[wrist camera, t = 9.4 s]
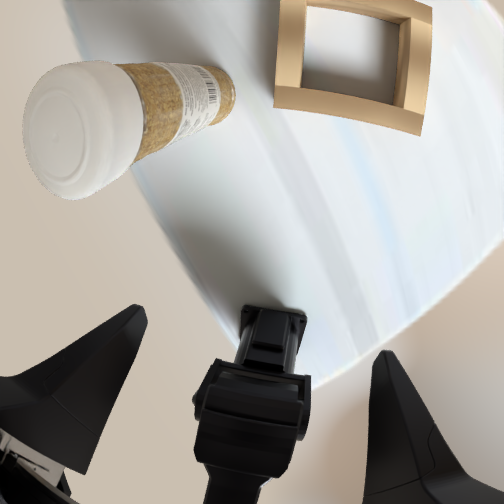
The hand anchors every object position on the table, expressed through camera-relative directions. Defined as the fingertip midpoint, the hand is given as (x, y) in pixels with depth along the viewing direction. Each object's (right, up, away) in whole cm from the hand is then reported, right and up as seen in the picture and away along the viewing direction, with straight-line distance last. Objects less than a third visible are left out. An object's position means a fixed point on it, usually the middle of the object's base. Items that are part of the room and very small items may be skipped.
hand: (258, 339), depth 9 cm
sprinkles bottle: (-3, +14, +8) cm, 16 cm away
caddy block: (+6, +16, +4) cm, 17 cm away
